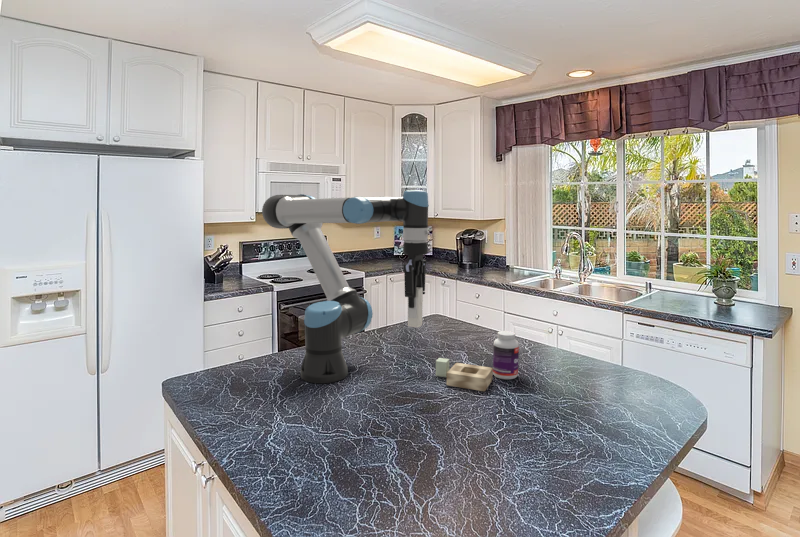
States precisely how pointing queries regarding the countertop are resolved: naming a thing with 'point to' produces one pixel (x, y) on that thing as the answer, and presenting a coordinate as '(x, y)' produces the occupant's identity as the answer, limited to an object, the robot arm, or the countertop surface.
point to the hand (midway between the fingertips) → (415, 316)
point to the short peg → (442, 367)
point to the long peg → (417, 321)
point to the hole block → (469, 376)
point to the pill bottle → (505, 355)
